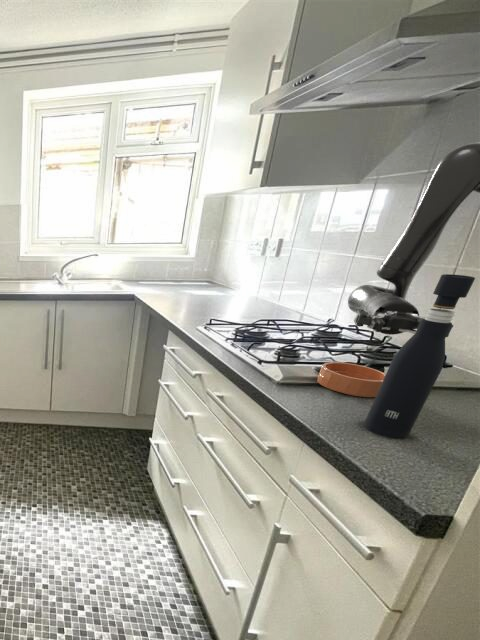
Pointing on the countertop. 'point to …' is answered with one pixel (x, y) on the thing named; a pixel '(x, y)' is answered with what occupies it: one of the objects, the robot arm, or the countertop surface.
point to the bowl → (351, 379)
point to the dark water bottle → (416, 364)
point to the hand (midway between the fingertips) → (408, 330)
